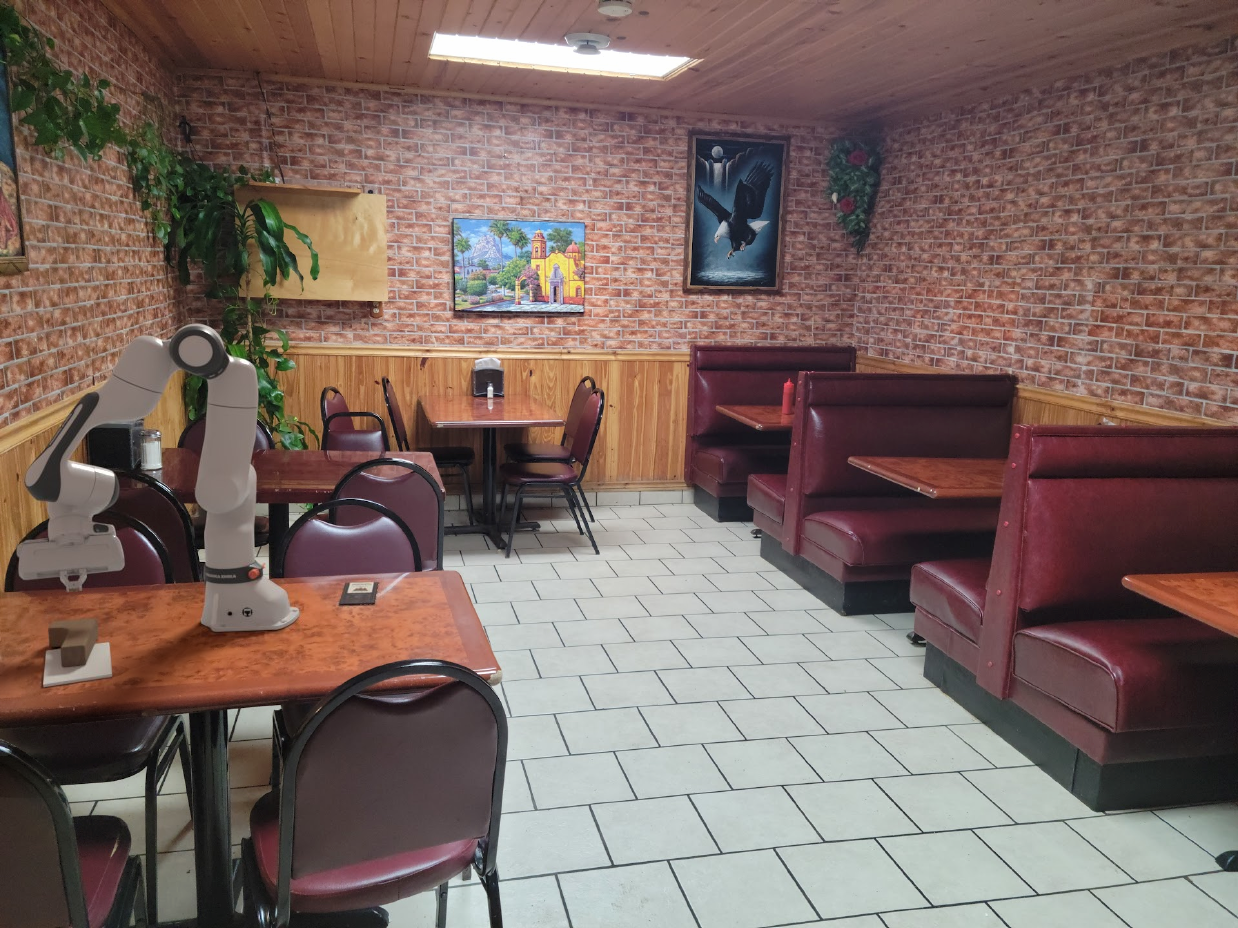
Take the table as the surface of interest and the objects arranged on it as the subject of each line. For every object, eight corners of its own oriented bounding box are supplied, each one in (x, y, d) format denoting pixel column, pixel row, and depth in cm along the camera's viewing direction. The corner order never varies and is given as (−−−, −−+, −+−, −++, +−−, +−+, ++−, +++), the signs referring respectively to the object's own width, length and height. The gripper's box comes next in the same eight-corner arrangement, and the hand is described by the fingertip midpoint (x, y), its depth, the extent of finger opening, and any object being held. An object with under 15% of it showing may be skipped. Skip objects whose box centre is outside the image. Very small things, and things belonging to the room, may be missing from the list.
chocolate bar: (338, 603, 236) (345, 582, 253) (338, 607, 236) (345, 586, 253) (374, 602, 238) (378, 582, 255) (374, 606, 238) (378, 585, 255)
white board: (46, 653, 199) (46, 650, 199) (109, 644, 205) (109, 641, 205) (43, 687, 182) (43, 684, 182) (112, 676, 188) (111, 673, 188)
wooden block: (53, 640, 205) (36, 670, 188) (51, 621, 204) (34, 649, 188) (98, 636, 208) (86, 665, 192) (97, 617, 207) (84, 645, 191)
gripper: (15, 533, 199) (16, 589, 193) (121, 525, 209) (126, 577, 203) (17, 548, 204) (18, 603, 197) (122, 539, 214) (126, 591, 207)
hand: (74, 590), depth 200 cm, fingers closed
